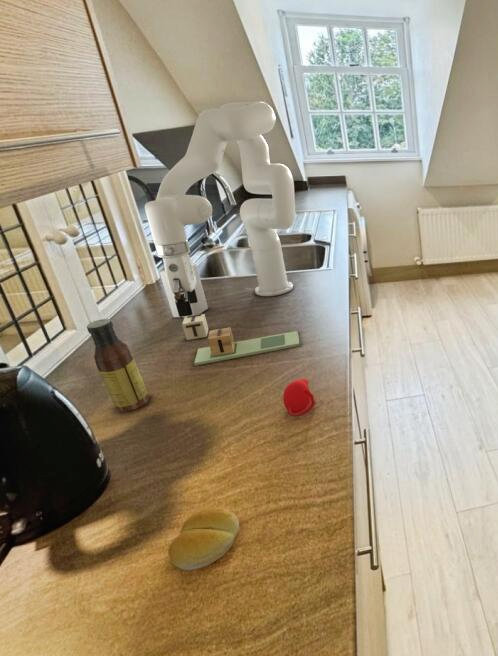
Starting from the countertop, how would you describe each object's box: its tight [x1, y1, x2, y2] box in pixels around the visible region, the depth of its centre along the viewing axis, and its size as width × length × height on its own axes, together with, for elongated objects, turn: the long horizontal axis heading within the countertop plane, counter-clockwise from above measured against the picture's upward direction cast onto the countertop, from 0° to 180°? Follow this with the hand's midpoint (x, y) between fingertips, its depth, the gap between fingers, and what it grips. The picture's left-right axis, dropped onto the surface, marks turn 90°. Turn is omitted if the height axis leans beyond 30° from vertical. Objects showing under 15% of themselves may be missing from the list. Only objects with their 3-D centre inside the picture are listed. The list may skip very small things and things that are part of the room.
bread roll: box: [167, 506, 240, 571], centre depth 64 cm, size 8×9×4 cm
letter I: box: [207, 326, 236, 357], centre depth 116 cm, size 5×5×5 cm
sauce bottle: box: [86, 318, 150, 412], centre depth 93 cm, size 7×6×20 cm
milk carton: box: [159, 260, 209, 318], centre depth 138 cm, size 7×7×19 cm
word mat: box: [193, 330, 300, 366], centre depth 119 cm, size 8×25×1 cm, turn 110°
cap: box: [282, 378, 317, 417], centre depth 93 cm, size 8×6×6 cm
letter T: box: [181, 313, 210, 341], centre depth 127 cm, size 5×5×5 cm
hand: (189, 309), depth 124 cm, fingers open, 9 cm apart
